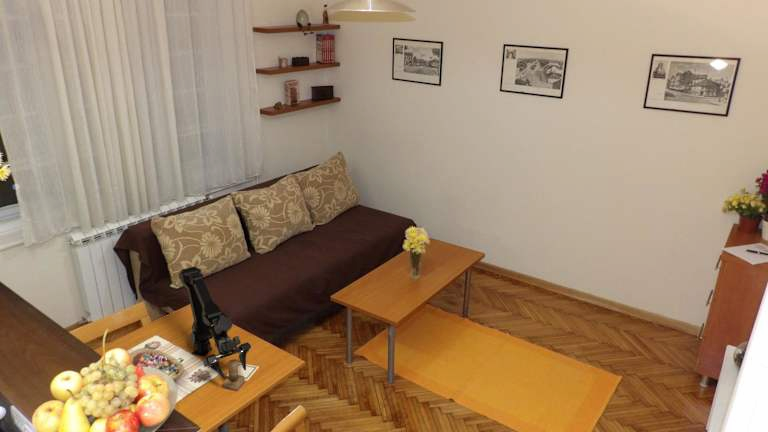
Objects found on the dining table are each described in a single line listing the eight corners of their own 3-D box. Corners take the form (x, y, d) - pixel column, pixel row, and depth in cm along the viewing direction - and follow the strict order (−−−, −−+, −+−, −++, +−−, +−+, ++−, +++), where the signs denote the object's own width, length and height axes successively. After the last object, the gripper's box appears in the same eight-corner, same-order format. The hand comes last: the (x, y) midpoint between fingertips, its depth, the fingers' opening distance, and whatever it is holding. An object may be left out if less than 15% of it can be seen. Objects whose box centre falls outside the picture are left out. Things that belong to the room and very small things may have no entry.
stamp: (223, 388, 225) (222, 364, 221) (231, 379, 230) (229, 356, 227) (237, 391, 224) (235, 367, 220) (244, 382, 229) (243, 359, 225)
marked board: (225, 377, 233) (225, 375, 233) (238, 364, 242) (237, 362, 242) (247, 382, 231) (247, 380, 230) (259, 368, 240) (259, 366, 239)
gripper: (203, 339, 217) (217, 377, 212) (248, 324, 228) (262, 360, 224) (197, 348, 225) (210, 384, 221) (240, 333, 236) (253, 368, 232)
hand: (234, 374), depth 224 cm, fingers open, 9 cm apart
